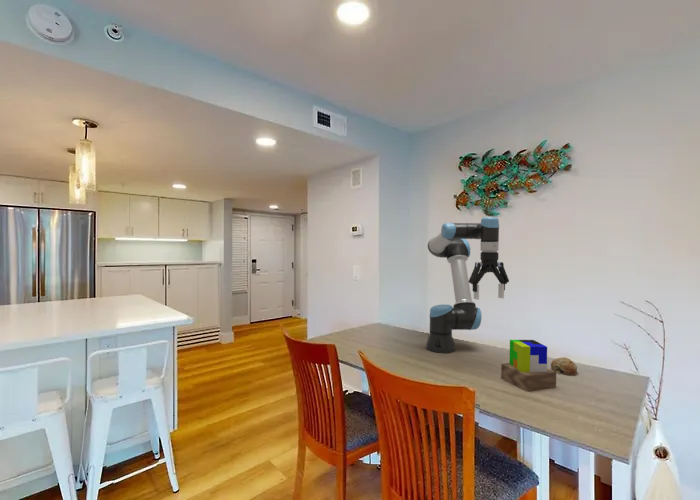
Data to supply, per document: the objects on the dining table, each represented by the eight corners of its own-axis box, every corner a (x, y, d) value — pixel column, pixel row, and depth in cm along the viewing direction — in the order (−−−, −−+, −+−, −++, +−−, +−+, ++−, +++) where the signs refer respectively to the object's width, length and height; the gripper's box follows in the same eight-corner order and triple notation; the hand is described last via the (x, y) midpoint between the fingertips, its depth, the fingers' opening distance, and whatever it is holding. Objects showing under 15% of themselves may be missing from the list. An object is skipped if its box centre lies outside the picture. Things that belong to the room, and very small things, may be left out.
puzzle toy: (546, 372, 134) (547, 346, 134) (521, 372, 134) (521, 346, 134) (533, 363, 144) (533, 339, 144) (509, 363, 144) (509, 339, 144)
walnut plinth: (501, 378, 143) (501, 363, 143) (527, 374, 148) (527, 360, 148) (528, 391, 130) (528, 375, 130) (556, 387, 134) (556, 372, 134)
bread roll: (549, 378, 153) (547, 364, 150) (554, 363, 160) (552, 349, 157) (575, 384, 146) (574, 369, 144) (579, 368, 153) (578, 354, 150)
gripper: (471, 251, 146) (471, 301, 147) (517, 251, 154) (517, 298, 154) (460, 251, 154) (460, 298, 154) (505, 251, 161) (504, 296, 162)
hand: (488, 298), depth 154 cm, fingers open, 13 cm apart
